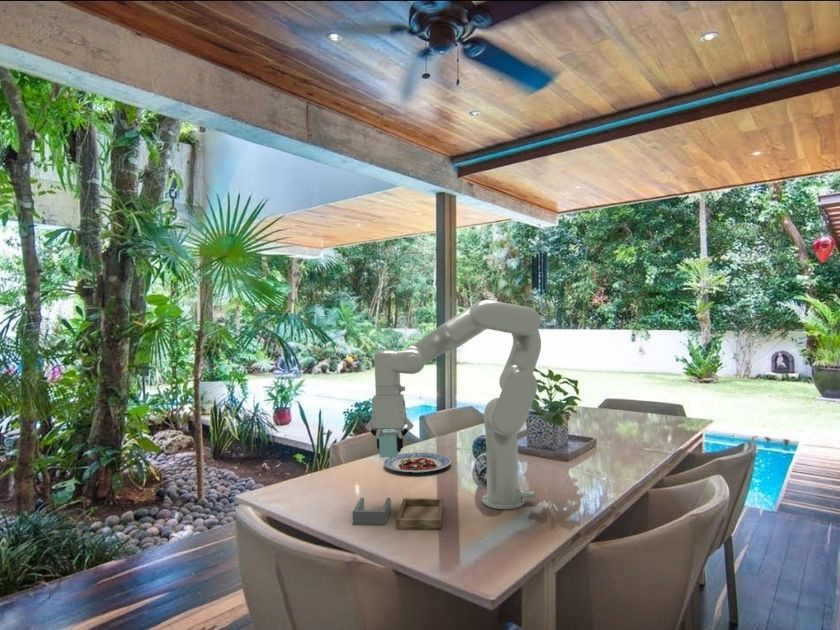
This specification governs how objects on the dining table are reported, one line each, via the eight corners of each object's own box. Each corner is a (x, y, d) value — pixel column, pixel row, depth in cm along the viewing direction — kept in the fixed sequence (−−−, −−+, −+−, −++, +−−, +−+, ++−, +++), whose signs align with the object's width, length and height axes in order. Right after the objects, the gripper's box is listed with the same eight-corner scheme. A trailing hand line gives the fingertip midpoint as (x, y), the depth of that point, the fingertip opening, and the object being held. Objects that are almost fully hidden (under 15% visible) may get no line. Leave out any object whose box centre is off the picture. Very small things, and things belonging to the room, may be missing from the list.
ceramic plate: (462, 471, 189) (462, 463, 189) (396, 481, 180) (396, 472, 180) (434, 455, 213) (434, 447, 213) (375, 462, 204) (375, 455, 204)
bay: (390, 509, 152) (390, 498, 152) (384, 524, 141) (384, 511, 141) (361, 509, 153) (360, 497, 153) (352, 524, 142) (352, 511, 142)
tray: (443, 506, 153) (443, 498, 153) (440, 529, 137) (440, 520, 137) (403, 506, 155) (403, 498, 155) (396, 528, 138) (395, 519, 138)
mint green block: (402, 446, 163) (401, 428, 163) (396, 457, 151) (395, 436, 151) (386, 447, 163) (386, 428, 163) (379, 457, 151) (379, 437, 151)
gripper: (417, 388, 158) (419, 447, 158) (363, 389, 160) (365, 448, 159) (414, 392, 150) (416, 454, 150) (357, 393, 152) (359, 454, 152)
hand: (390, 450), depth 155 cm, fingers closed on mint green block, 5 cm apart
